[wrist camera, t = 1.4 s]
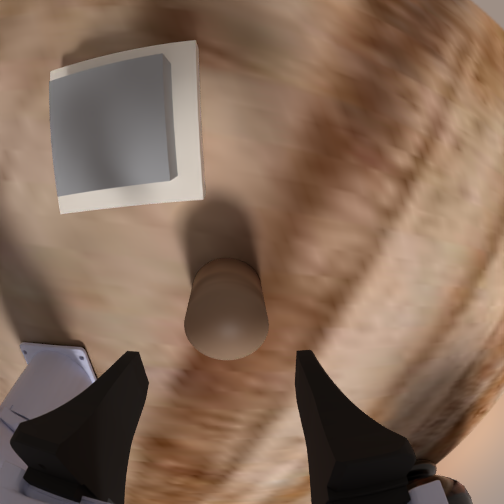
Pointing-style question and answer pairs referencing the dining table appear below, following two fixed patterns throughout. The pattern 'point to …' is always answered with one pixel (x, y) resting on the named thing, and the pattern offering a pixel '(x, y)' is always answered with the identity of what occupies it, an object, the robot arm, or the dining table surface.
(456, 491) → the amphora vase
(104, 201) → the base block
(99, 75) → the top block
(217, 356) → the walnut cylinder
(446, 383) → the dining table surface
